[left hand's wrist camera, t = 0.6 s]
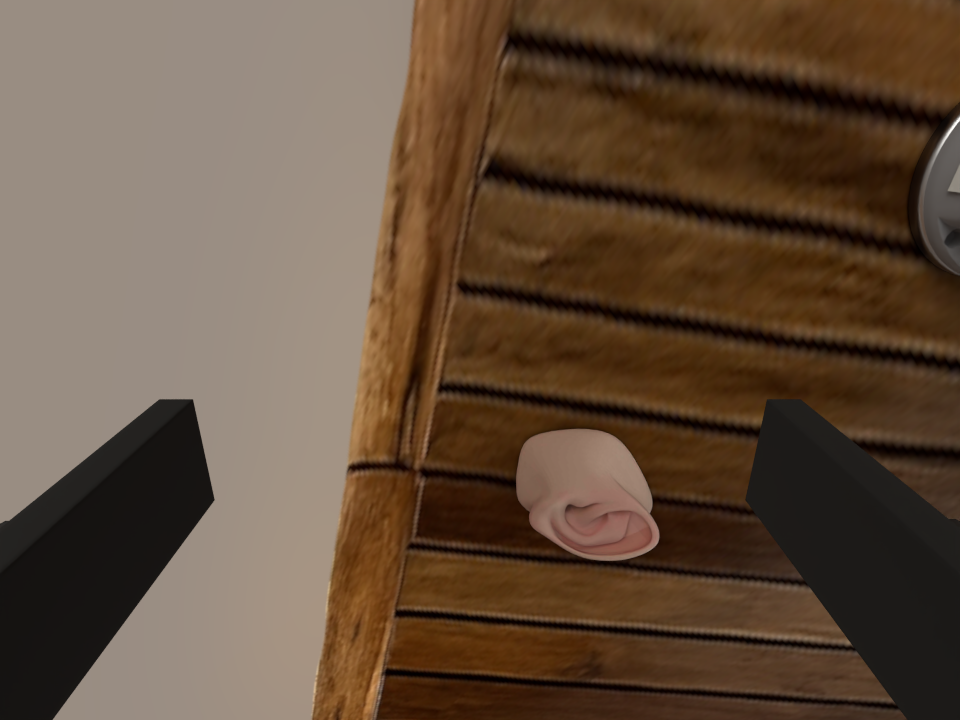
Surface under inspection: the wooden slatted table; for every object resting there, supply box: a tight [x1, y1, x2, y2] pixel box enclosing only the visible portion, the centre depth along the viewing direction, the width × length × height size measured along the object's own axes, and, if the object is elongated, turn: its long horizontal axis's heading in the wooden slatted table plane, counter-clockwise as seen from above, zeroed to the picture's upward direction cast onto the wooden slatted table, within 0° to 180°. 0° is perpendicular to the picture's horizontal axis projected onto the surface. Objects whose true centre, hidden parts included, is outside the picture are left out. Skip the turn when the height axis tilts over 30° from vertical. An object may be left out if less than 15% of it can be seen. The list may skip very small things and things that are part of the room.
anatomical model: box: [516, 429, 659, 561], centre depth 48 cm, size 13×4×12 cm
